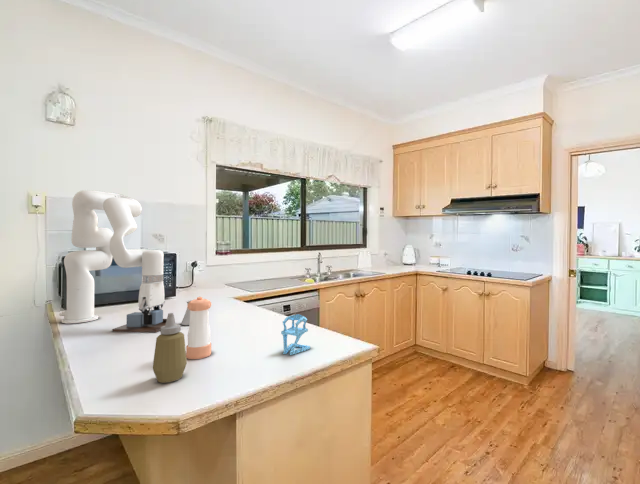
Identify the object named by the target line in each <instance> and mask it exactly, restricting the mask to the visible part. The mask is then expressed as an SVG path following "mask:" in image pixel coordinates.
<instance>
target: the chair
mask: <svg viewBox="0 0 640 484" xmlns="http://www.w3.org/2000/svg"><path fill="white" fill-rule="evenodd" d="M288 321H291V327H288V328H287V324H286V323H287V322H288ZM295 321H296V322H295ZM307 321H308V318H307V317H306V316H304V315H302V314H297V313H296V314H293V315H288V316H287V317H285V318H284V320H283V321H282V325H283V330H281V331H280V335H282V341H283V342H282V343H283V352H282V353H283V355H287V354H288V353H289V356H292V355H296V354H298V353H302V352H305V351H309V350H311V346H310V345H307V344H301V343H299V341H300V338H301V337H302V336H303V335H304V334H305V333H307V332H309V329H308V328H307V327H306V326H307V325H306V324H307ZM302 322H303V325H302V327H299V325H300V324H301V323H302ZM288 336H294V337H295V340H294V342H293V343H292V342H291V343H290V344H289V345H288ZM296 348H297V349H296Z"/></svg>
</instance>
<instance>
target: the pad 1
mask: <svg viewBox="0 0 640 484" xmlns="http://www.w3.org/2000/svg"><path fill="white" fill-rule="evenodd" d="M126 324H127V326H126V327H142V326H145V324H142V312H141V311H134V312H131V313H128V314H126Z"/></svg>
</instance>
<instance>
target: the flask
mask: <svg viewBox="0 0 640 484" xmlns="http://www.w3.org/2000/svg"><path fill="white" fill-rule="evenodd" d="M192 300H193V299H192ZM192 300H191V299H190V300H187V301H186V304H187V305H188V303H189V302H190V301H192ZM187 305H186V310H185V313H184V316H183V318H182V320H181V323H180V325H182V326H189V325H190V310H189V309H188V307H187Z"/></svg>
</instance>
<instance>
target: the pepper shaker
mask: <svg viewBox="0 0 640 484" xmlns="http://www.w3.org/2000/svg"><path fill="white" fill-rule="evenodd" d="M189 301H190V300H189ZM187 307H188V309H189V310H190V325H188V331H187V345H185V349H186V359H188V360H199V359H205V358H207V357H210V356H212V343H211V327H210V322H209V321H210V317H209V315H210V311H209V310H210V309H211V307H212V302H211V300H210V299H207V298H203V297H202V296H198V297H196V298H194V299H192V301H190V302H189V303H188V305H186V308H187Z"/></svg>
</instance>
